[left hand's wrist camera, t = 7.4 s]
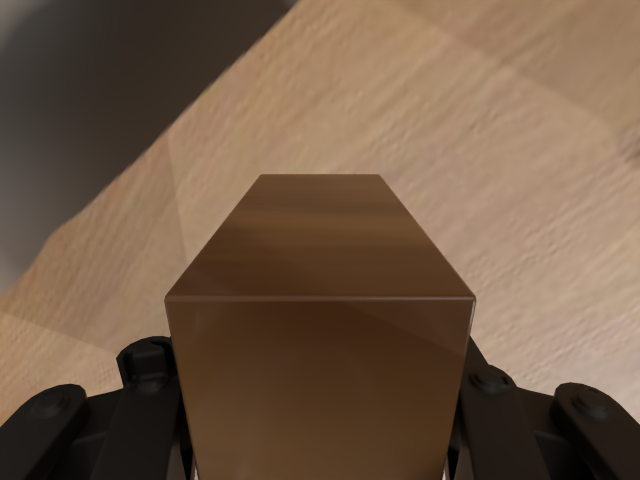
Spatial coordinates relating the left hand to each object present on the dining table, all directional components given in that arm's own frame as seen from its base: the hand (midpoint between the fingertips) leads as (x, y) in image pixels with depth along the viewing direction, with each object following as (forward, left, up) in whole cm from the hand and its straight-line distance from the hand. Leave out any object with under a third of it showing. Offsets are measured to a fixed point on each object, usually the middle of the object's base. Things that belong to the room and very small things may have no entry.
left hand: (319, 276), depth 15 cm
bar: (+4, +7, -1) cm, 8 cm away
